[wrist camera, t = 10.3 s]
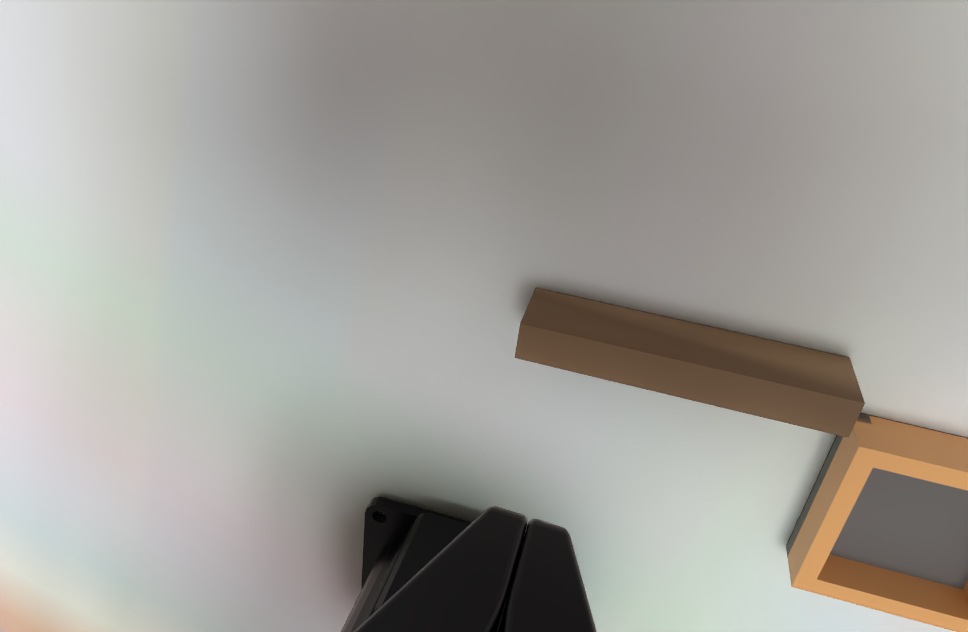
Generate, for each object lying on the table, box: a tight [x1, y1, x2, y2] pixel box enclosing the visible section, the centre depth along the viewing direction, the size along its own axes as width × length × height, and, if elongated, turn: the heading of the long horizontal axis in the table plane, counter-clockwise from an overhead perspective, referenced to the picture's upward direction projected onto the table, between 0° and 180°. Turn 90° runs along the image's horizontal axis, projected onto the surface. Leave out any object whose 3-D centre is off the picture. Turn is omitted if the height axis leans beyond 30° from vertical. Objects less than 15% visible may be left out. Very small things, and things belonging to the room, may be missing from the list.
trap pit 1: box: [786, 413, 968, 632], centre depth 19 cm, size 5×5×2 cm
